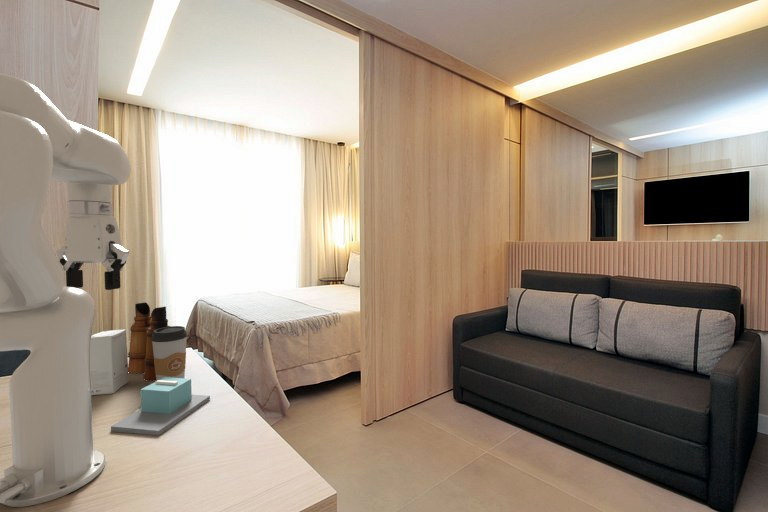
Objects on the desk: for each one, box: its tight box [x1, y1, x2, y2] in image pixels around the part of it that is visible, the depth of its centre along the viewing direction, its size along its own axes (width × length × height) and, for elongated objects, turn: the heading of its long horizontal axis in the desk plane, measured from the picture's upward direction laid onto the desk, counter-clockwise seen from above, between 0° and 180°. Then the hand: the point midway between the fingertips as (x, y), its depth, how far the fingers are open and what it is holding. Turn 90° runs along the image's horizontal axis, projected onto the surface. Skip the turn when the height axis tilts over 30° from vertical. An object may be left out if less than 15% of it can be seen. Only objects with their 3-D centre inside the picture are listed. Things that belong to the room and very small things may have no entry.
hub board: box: [110, 394, 211, 437], centre depth 79 cm, size 16×11×5 cm
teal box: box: [140, 377, 193, 414], centre depth 81 cm, size 7×7×6 cm
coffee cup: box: [151, 325, 188, 381], centre depth 95 cm, size 8×8×15 cm
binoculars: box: [127, 302, 170, 382], centre depth 104 cm, size 18×8×20 cm, turn 57°
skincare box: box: [90, 329, 130, 396], centre depth 93 cm, size 8×6×15 cm
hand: (93, 288), depth 78 cm, fingers open, 9 cm apart
